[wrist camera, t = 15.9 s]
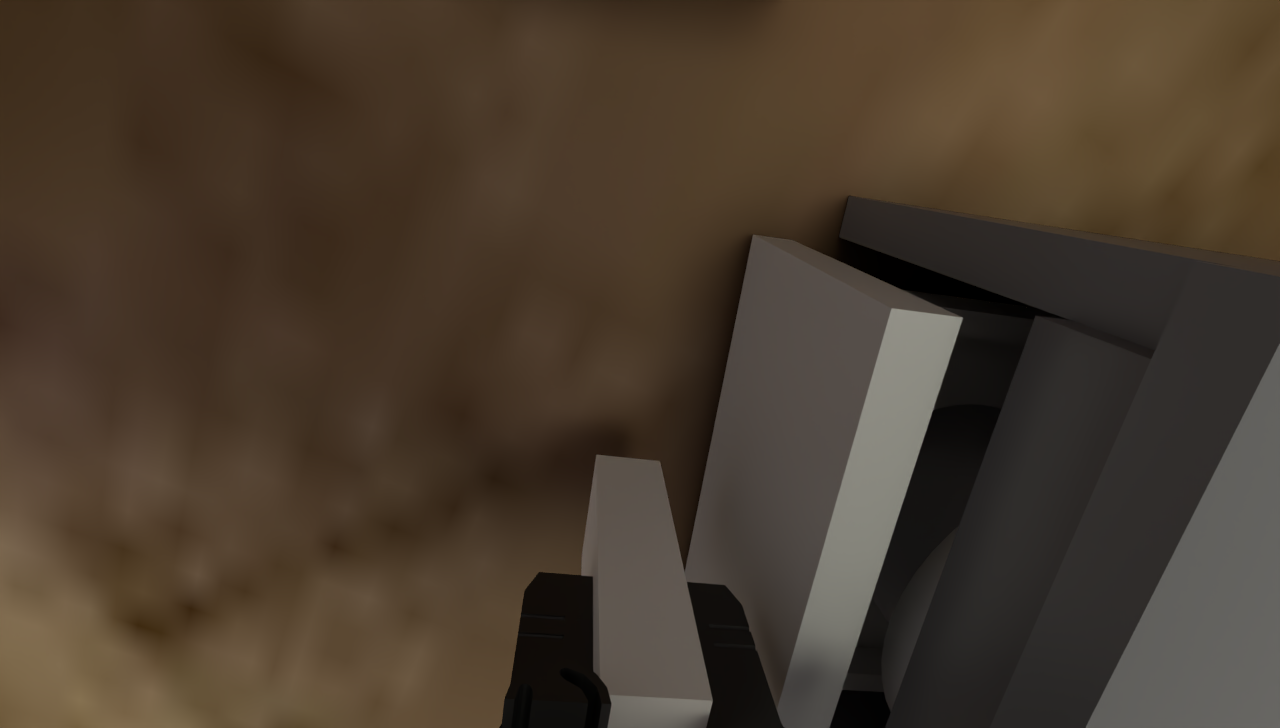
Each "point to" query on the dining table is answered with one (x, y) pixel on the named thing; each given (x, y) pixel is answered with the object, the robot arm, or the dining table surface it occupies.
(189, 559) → the dining table surface
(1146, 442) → the grey drawer cabinet
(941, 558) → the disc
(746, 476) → the grey drawer
